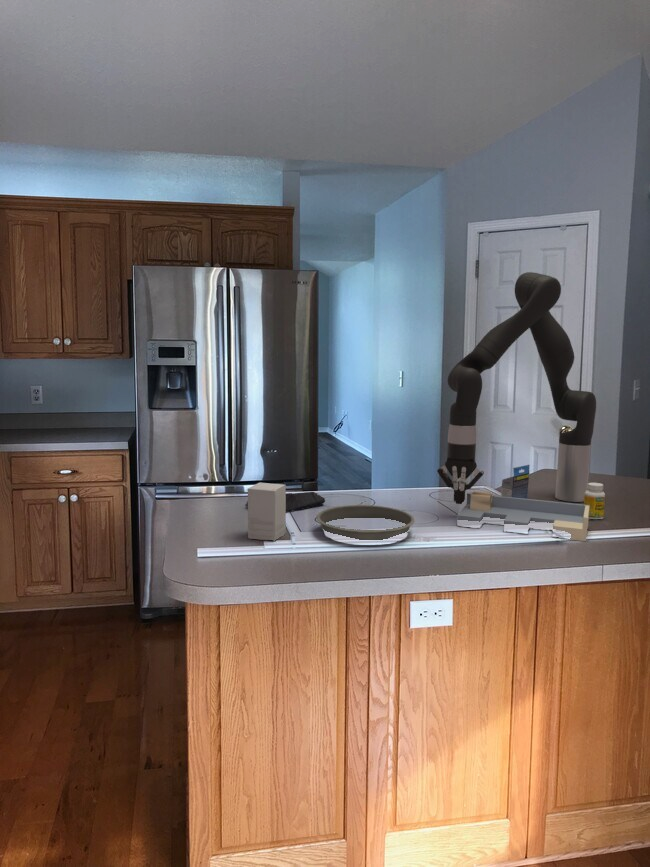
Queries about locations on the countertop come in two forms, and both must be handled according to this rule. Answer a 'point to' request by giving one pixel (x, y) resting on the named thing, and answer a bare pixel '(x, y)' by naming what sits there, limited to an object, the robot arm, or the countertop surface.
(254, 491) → the supplement box
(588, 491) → the supplement bottle
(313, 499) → the dark slate chunk
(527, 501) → the tray
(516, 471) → the label tape box
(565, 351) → the robot arm
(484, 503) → the maple block
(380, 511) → the cake pan
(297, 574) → the countertop surface
